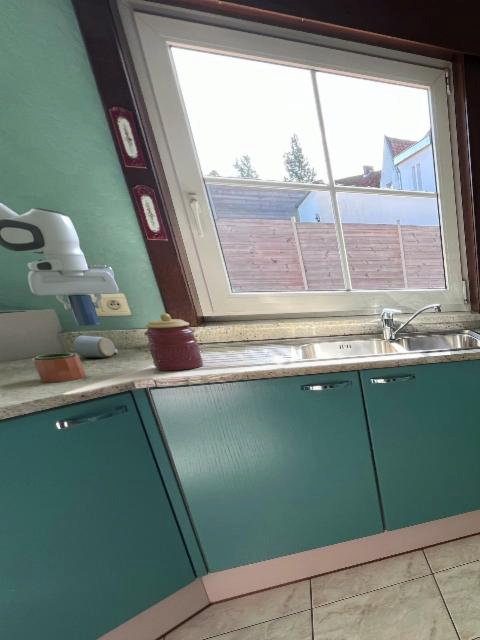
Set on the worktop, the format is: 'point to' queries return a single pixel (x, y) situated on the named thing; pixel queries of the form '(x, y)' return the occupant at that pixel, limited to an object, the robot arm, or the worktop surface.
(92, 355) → the ceramic mug
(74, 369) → the orange faceted bowl
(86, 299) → the dark blue cylinder
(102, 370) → the worktop surface
